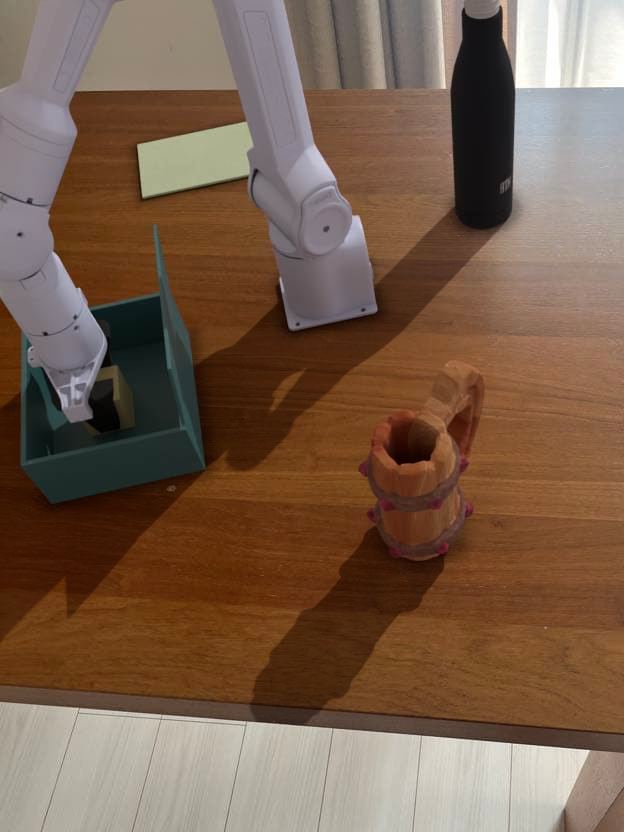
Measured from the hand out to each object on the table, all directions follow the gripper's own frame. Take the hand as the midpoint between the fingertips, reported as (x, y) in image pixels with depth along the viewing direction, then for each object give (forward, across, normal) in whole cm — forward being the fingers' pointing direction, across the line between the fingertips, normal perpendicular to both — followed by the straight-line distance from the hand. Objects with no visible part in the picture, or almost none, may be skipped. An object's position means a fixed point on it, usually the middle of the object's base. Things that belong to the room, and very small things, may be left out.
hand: (109, 408), depth 88 cm
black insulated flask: (+2, -18, +43) cm, 47 cm away
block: (+1, 0, 0) cm, 1 cm away
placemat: (+1, -37, +13) cm, 39 cm away
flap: (-9, 0, +9) cm, 13 cm away
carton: (+1, 0, +1) cm, 2 cm away
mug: (+2, +19, +29) cm, 35 cm away
